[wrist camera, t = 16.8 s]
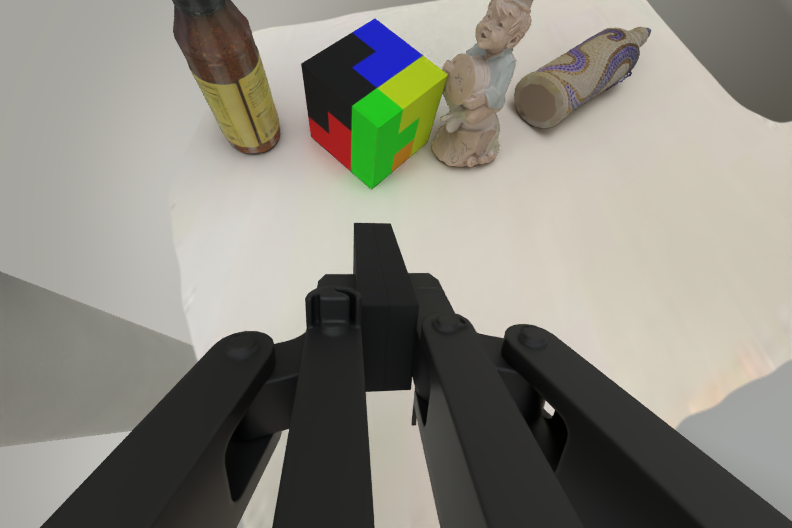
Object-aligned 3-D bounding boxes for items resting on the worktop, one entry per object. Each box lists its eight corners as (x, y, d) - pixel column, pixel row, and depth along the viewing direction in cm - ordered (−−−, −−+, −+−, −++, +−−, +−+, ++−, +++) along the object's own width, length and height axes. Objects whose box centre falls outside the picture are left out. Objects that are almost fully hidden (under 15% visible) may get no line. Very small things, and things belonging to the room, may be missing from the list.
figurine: (469, 110, 48) (547, -76, 30) (507, 157, 46) (617, -11, 28) (413, 132, 45) (461, -56, 27) (451, 184, 43) (531, 18, 25)
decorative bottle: (544, 142, 48) (573, 103, 41) (504, 104, 49) (526, 61, 43) (652, 67, 56) (689, 25, 50) (614, 37, 57) (646, -8, 51)
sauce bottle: (271, 108, 44) (217, -104, 26) (289, 148, 42) (246, -49, 24) (216, 123, 42) (115, -93, 24) (233, 165, 41) (139, -33, 22)
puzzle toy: (369, 94, 47) (374, 18, 38) (427, 142, 45) (448, 74, 36) (311, 136, 43) (301, 63, 34) (371, 189, 42) (378, 128, 32)
